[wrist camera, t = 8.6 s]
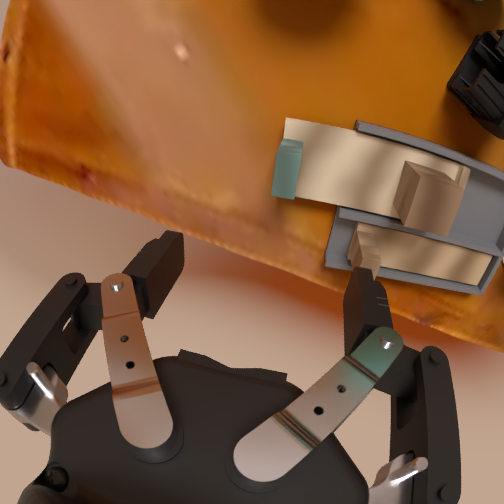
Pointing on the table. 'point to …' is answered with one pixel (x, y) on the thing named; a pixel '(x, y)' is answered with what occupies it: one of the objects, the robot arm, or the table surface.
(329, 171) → the strip
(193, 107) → the table surface
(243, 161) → the table surface
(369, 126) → the tray
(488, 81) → the end cap
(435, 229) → the walnut cube
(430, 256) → the strip
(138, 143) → the table surface
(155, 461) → the robot arm
